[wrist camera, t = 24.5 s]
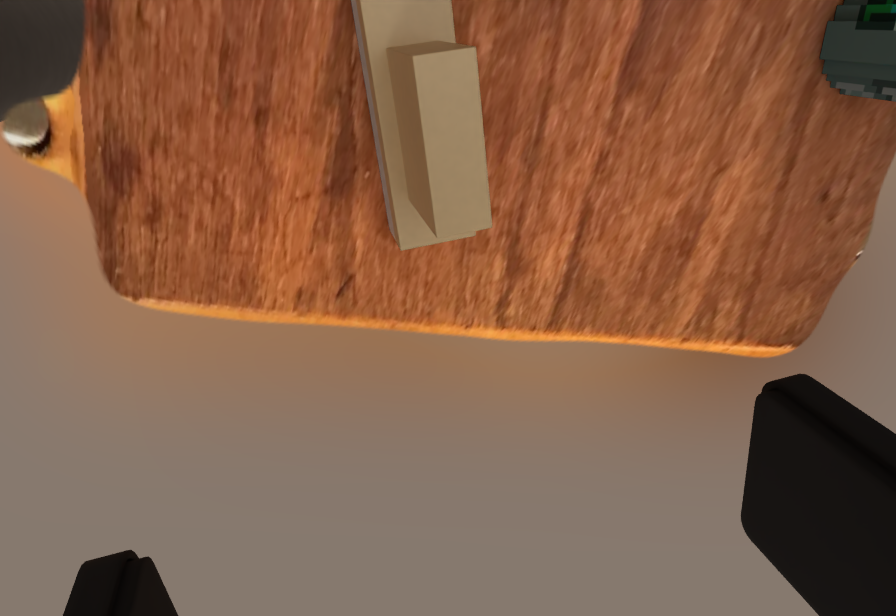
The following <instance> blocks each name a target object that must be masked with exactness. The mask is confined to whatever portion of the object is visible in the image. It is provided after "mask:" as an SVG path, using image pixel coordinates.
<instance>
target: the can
mask: <svg viewBox="0 0 896 616" xmlns="http://www.w3.org/2000/svg"><path fill="white" fill-rule="evenodd" d="M820 59H824V60H825V63H824V67H823V71H822V74H827V79H826V81H831V86H830V87H831V88H839V89H841V90H840V94H844V95H852V96H859V97H866V98H873V99H881V100H888V101H895V102H896V0H844V5H837V9H836V14H835V18H834V21H828V23H827V28H826V32H825V37H824V41H823V46H822V50H821V55H820Z"/></svg>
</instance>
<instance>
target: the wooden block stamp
mask: <svg viewBox="0 0 896 616" xmlns="http://www.w3.org/2000/svg"><path fill="white" fill-rule="evenodd" d="M351 4H352V10H353V16H354V22H355V28H356V34H357V40H358V46H359V51H360V57H361V63H362V69H363V75H364V81H365V87H366V93H367V99H368V105H369V111H370V117H371V123H372V128H373V134H374V140H375V146H376V152H377V158H378V164H379V170H380V176H381V182H382V188H383V194H384V200H385V205H386V211H387V217H388V223H389V229H390V231H391V233H392V235H393V237H394V239H395V240H396V243H397V244H398V246H399V248H400V250H401V251H402V250H407V249H412V248H417V247H422V246H427V245H432V244H437V243H442V242H446V241H451V240H456V239H461V238H466V237H471V236H475V235H476V233H475V231H477V230H482V229H487V228H492V218H491V207H490V196H489V185H488V174H487V163H486V152H485V141H484V130H483V119H482V108H481V97H480V86H479V75H478V64H477V53H476V47H475V46H469V45H463V44H457V43H456V41H455V31H454V21H453V12H452V2H451V0H351Z"/></svg>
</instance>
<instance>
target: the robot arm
mask: <svg viewBox="0 0 896 616" xmlns="http://www.w3.org/2000/svg"><path fill="white" fill-rule="evenodd" d="M741 521H742V525H743V528H744V530H745V532H746V534H747V536H748V537H749V538H750V540H751V541H752V542H753V543H754V544H755V545H756V546H757V548H758V549H759V550H760V551H761V552H762V553H763V554H764V555H765V556H766V557H767V558H768V560H769V561H770V562H771V563H772V564H773V565H774V566H775V567H776V568H777V570H778V571H779V572H780V573H781V574H782V575H783V576H784V577H785V578H786V580H787V581H788V582H789V583H790V584H791V585H792V586H793V587H794V588H795V589H796V591H797V592H798V593H799V594H800V595H801V596H802V597H803V598H804V599H805V600H806V602H807V603H808V604H809V605H810V606H811V607H812V608H813V609H814V610H815V612H816V613H817V614H818V615H819V616H896V434H895V433H893V432H892V431H890V430H889V429H888V428H886V427H885V426H883V425H882V424H880V423H878V422H877V421H875V420H874V419H872V418H871V417H870V416H868V415H867V414H865V413H864V412H862V411H861V410H859V409H858V408H856V407H855V406H853V405H852V404H851V403H849V402H848V401H846V400H845V399H843V398H842V397H840V396H838V395H837V394H836V393H834V392H833V391H831V390H830V389H828V388H827V387H825V386H824V385H822V384H821V383H819V382H818V381H816V380H815V379H813V378H812V377H810V376H808V375H806V374H797V375H793V376H789V377H785V378H782V379H778V380H774V381H771V382H768V383H766V384H765V385H764V387H763V389H762V392H761V394H759V395H758V396H757V397H756V401H755V407H754V415H753V423H752V432H751V439H750V447H749V455H748V463H747V471H746V479H745V486H744V495H743V502H742V510H741ZM63 616H178V614H177V612H176V610H175V608H174V606H173V603H172V601H171V599H170V597H169V595H168V593H167V591H166V588H165V586H164V584H163V582H162V580H161V577H160V575H159V573H158V571H157V569H156V567H155V565H154V563H153V561H152V559H151V558H150V557H143V558H140V559H139V558H138V556H137V555H136V553H135V552H133V551H132V550H127V551H124V552H119V553H116V554H112V555H108V556H105V557H101V558H96V559H93V560H89V561H86V562H85V563H84V564H82V566H81V568H80V570H79V572H78V574H77V577H76V580H75V583H74V586H73V588H72V591H71V594H70V597H69V600H68V603H67V605H66V608H65V611H64V614H63Z"/></svg>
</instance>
